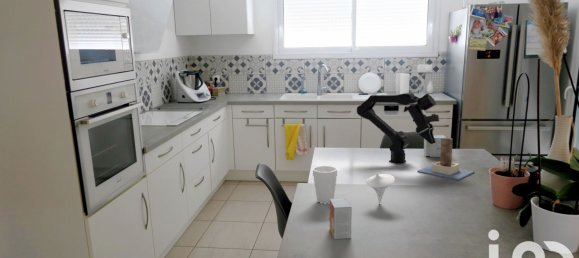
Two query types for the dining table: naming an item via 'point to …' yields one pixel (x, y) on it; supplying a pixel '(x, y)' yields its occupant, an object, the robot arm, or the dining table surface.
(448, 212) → the dining table surface
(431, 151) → the light bulb box
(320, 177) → the foam cup
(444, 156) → the walnut column
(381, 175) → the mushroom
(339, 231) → the small box
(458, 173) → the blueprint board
